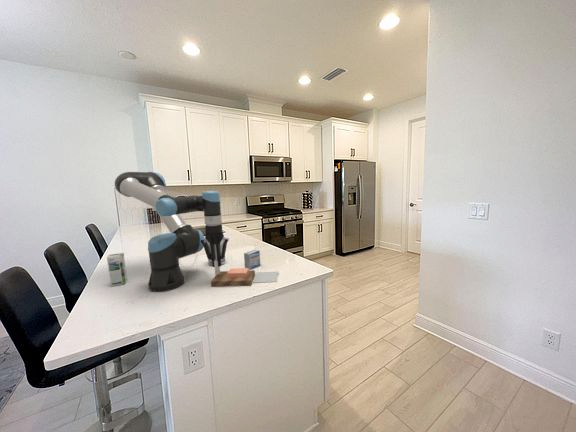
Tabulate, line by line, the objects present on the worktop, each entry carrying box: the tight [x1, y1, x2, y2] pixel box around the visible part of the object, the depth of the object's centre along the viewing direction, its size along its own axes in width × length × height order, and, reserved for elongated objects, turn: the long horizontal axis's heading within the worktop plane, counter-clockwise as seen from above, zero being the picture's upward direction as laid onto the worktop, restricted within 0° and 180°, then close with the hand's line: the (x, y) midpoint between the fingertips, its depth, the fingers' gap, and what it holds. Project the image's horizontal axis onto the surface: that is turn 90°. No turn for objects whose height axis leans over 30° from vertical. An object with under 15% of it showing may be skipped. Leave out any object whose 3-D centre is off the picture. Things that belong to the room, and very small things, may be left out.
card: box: [227, 267, 250, 278], centre depth 112 cm, size 9×6×2 cm, turn 89°
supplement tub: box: [207, 239, 226, 267], centre depth 135 cm, size 10×10×15 cm
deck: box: [210, 269, 256, 288], centre depth 111 cm, size 18×12×2 cm, turn 89°
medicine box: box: [243, 249, 261, 271], centre depth 129 cm, size 8×4×9 cm, turn 143°
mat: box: [252, 271, 279, 284], centre depth 114 cm, size 11×12×1 cm
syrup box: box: [106, 252, 128, 287], centre depth 112 cm, size 6×6×14 cm
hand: (217, 272), depth 112 cm, fingers closed
